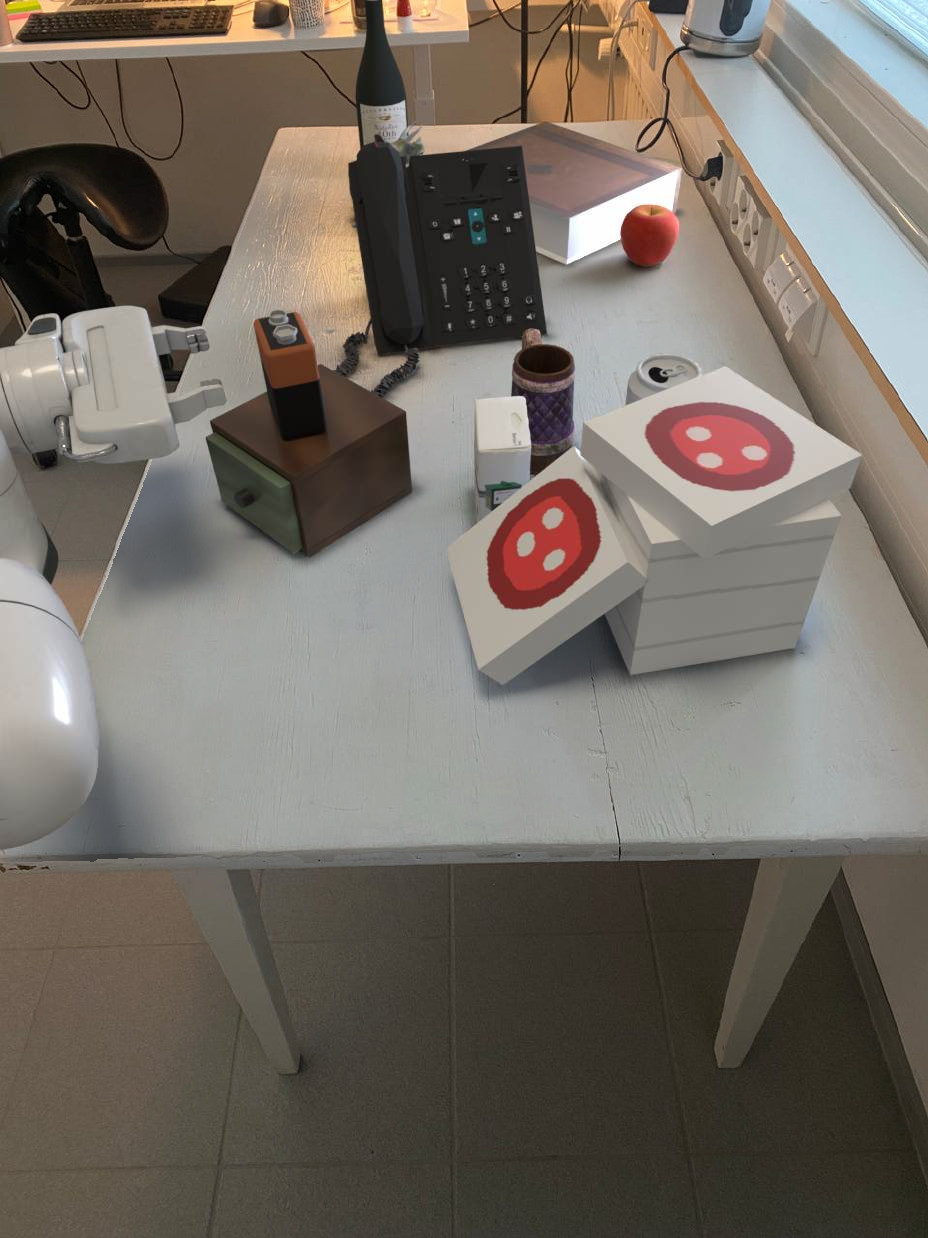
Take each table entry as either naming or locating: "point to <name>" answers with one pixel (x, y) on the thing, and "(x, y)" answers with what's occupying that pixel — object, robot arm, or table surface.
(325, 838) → the table surface
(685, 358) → the can
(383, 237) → the office phone
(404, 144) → the toy dinosaur
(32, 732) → the robot arm
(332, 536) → the cabinet
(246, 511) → the drawer
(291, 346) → the battery
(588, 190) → the book
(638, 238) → the apple
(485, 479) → the ink box
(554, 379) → the mug
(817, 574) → the pizza boxes
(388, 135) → the wine bottle
